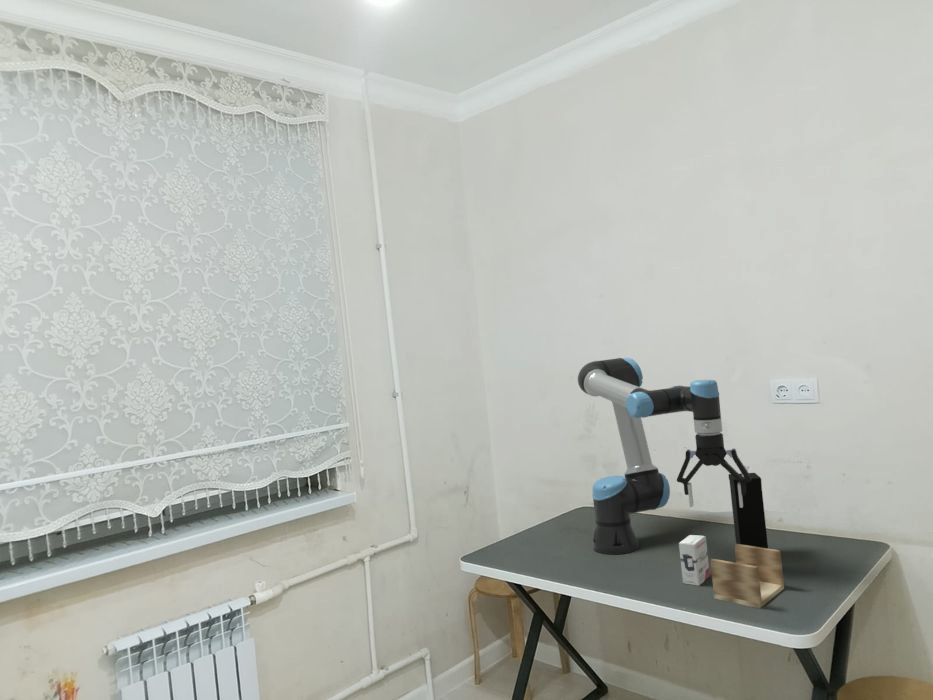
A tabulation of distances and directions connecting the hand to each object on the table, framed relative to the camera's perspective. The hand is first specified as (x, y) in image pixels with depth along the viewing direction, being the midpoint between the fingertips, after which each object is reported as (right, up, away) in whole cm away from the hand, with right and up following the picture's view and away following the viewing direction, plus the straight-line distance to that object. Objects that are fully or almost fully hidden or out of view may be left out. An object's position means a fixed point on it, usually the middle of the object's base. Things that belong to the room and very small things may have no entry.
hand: (716, 506), depth 187 cm
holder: (+3, -19, -16) cm, 25 cm away
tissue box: (+16, -18, +11) cm, 27 cm away
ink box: (-7, -21, -3) cm, 22 cm away
